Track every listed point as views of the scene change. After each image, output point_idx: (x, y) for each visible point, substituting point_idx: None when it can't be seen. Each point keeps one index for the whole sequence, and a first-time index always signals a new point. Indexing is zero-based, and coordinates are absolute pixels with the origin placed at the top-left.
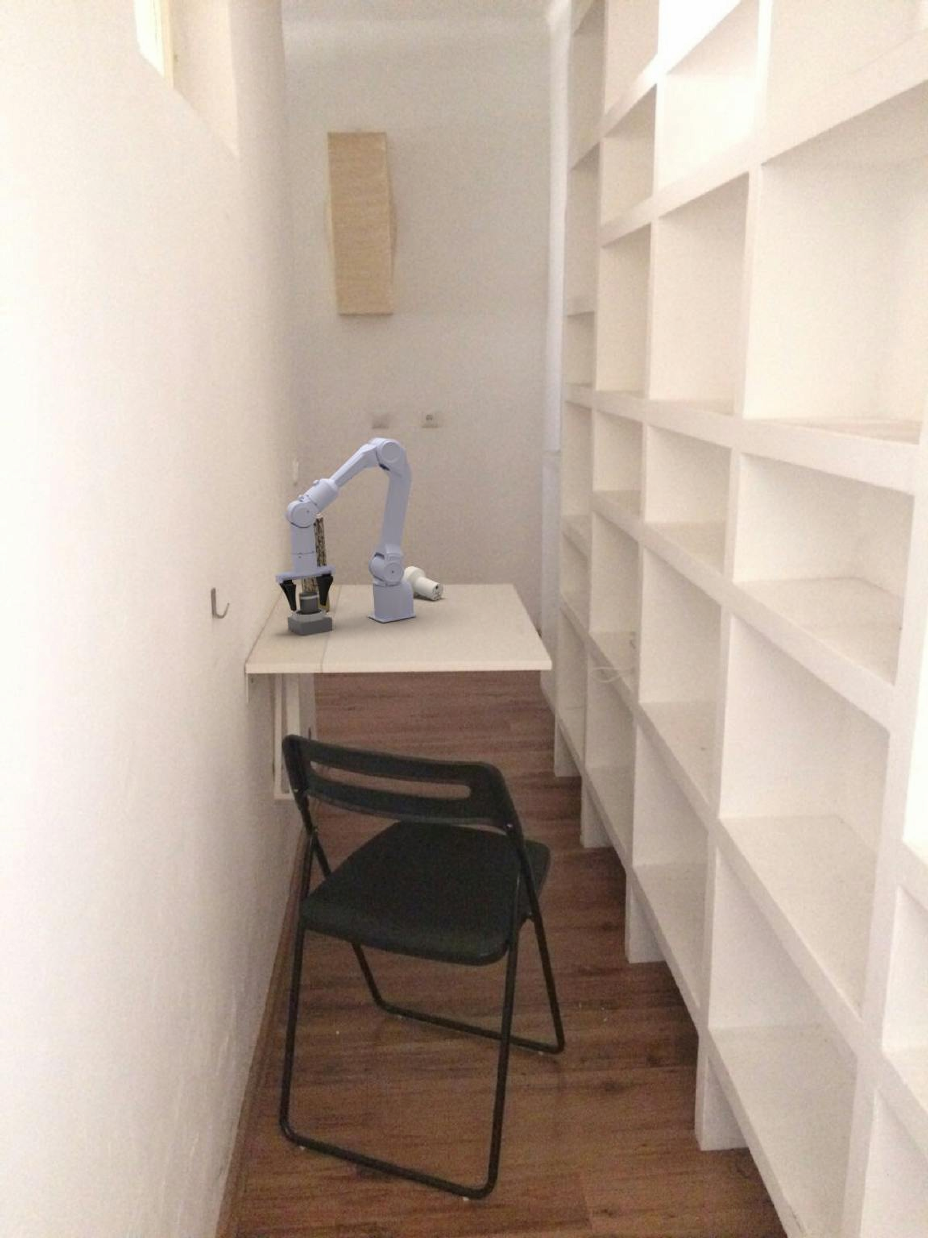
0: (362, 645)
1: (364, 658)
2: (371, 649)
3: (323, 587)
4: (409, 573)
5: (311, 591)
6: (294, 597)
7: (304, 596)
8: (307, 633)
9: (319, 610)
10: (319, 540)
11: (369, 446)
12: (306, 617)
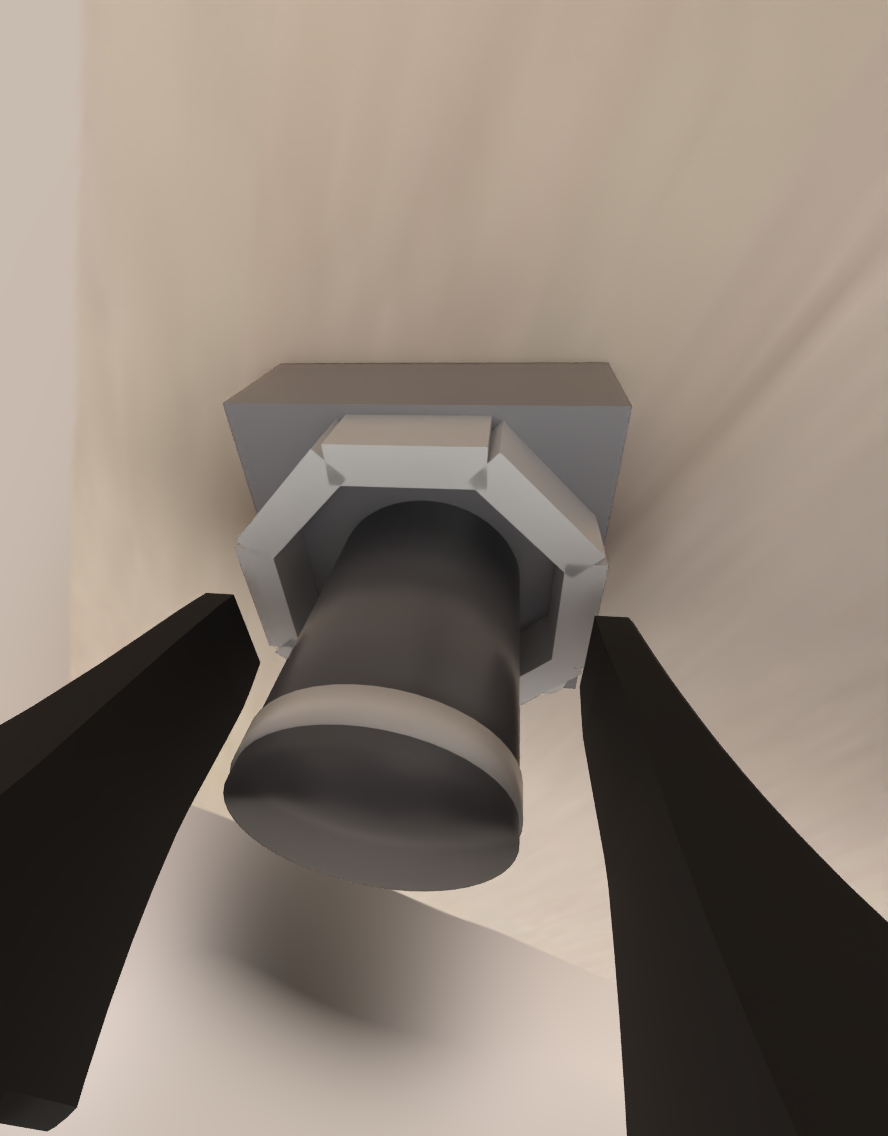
0: (521, 841)
1: (448, 897)
2: (518, 873)
3: (625, 977)
4: None
5: (471, 794)
6: (158, 834)
7: (295, 848)
8: None
9: (559, 587)
10: None
11: None
12: None
